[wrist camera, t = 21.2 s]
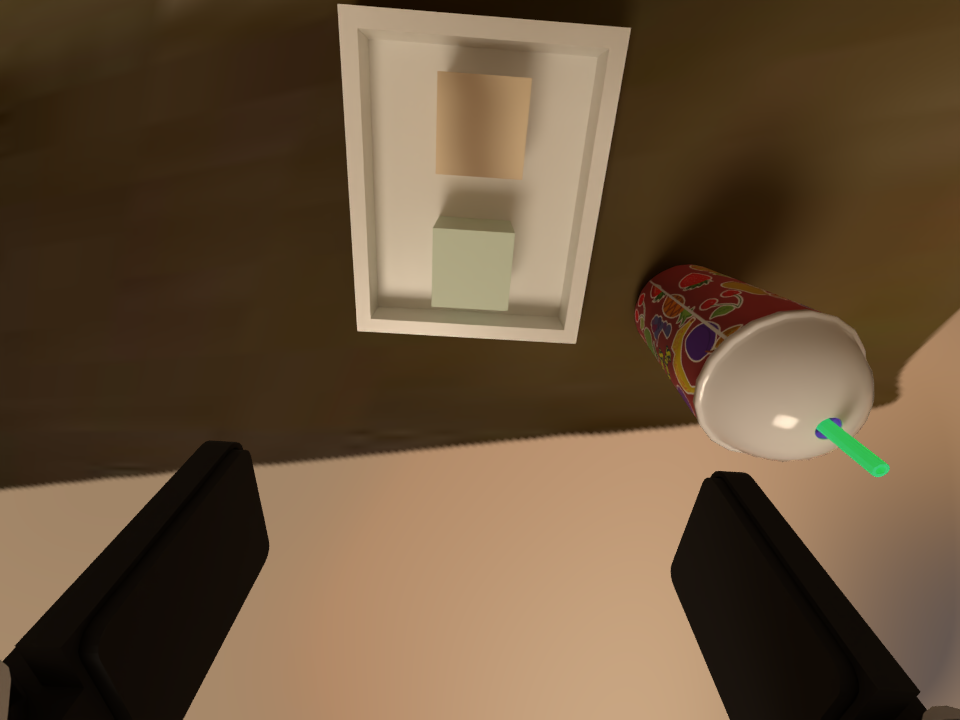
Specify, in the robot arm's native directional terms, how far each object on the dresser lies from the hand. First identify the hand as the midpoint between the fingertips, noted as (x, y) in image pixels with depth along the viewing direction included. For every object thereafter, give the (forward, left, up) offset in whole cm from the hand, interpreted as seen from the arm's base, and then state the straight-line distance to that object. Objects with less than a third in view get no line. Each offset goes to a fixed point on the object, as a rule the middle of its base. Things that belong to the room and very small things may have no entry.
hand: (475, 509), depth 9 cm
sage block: (0, 0, -26) cm, 25 cm away
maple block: (0, -8, -26) cm, 27 cm away
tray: (0, -4, -26) cm, 27 cm away
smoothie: (-16, +3, -27) cm, 31 cm away
